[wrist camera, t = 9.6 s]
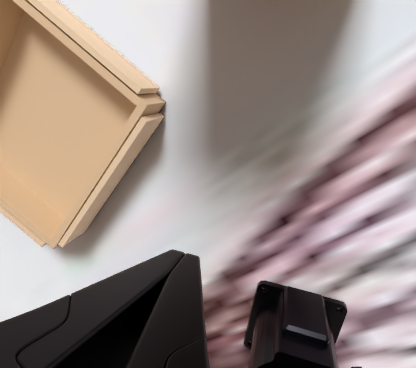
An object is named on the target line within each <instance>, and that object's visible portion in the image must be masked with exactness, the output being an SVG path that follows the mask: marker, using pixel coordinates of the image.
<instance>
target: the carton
mask: <svg viewBox="0 0 416 368" xmlns="http://www.w3.org/2000/svg"><path fill="white" fill-rule="evenodd" d="M158 90H159V87H158V86H157V85H156V84H154V83H153V82H152V81H151V80H150V79H148V78H147V77H146V76H145V75H144V74H143V73H141V72H140V71H139V70H138V69H137V68H136V67H134V66H133V65H132V64H131V63H130V62H129V61H127V60H126V59H125V58H124V57H123V56H121V55H120V54H119V53H118V52H117V51H116V50H114V49H113V48H112V47H111V46H110V45H109V44H107V43H106V42H105V41H104V40H103V39H102V38H100V37H99V36H98V35H97V34H96V33H94V32H93V31H92V30H91V29H90V28H89V27H87V26H86V25H85V24H84V23H83V22H82V21H80V20H79V19H78V18H77V17H76V16H74V15H73V14H72V13H71V12H70V11H69V10H67V9H66V8H65V7H64V6H63V5H62V4H60V3H59V2H58V1H57V0H0V212H1V213H2V214H3V215H4V216H5V217H6V218H8V219H9V220H10V221H11V222H12V223H14V224H15V225H16V226H17V227H18V228H20V229H21V230H22V231H23V232H24V233H26V234H27V235H28V236H29V237H30V238H31V239H33V240H34V241H35V242H36V243H37V244H39V245H40V246H41V247H43V246H45V245H46V244H48V245H49V246H51V247H52V248H53V249H54V248H56V247H57V246H58V245H60V246H61V247H62V248H63V247H64V246H65V245H67V244H68V243H70V242H71V241H72V240H74V239H75V238H77V237H78V236H79V235H81V234H82V233H83V232H85V231H86V229H87V228H88V226H89V225H90V223H91V222H92V221H93V219H94V218H95V216H96V215H97V213H98V212H99V210H100V209H101V207H102V206H103V205H104V203H105V202H106V200H107V199H108V197H109V196H110V194H111V193H112V192H113V190H114V189H115V187H116V186H117V184H118V183H119V181H120V180H121V179H122V177H123V176H124V174H125V173H126V171H127V170H128V168H129V167H130V166H131V164H132V163H133V161H134V160H135V158H136V157H137V155H138V154H139V153H140V151H141V150H142V148H143V147H144V145H145V144H146V142H147V141H148V140H149V138H150V137H151V135H152V134H153V132H154V131H155V129H156V128H157V126H158V125H159V124H160V122H161V121H162V119H163V118H164V116H163V115H161V114H160V113H159V112H160V110H161V109H162V107H163V106H164V104H165V103H166V102H165V101H164V100H163V99H162V98H161V97H159V96H158V95H157V94H156V93H157V92H158Z"/></svg>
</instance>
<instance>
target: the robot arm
mask: <svg viewBox="0 0 416 368" xmlns="http://www.w3.org/2000/svg"><path fill="white" fill-rule="evenodd" d="M263 286H264V287H266V289H263V288H262V287H263ZM338 307H341V308H342V309H340V310H339V309H337V308H338ZM346 314H347V307H346V304H345V303H344V302H342V301H338V300H335V299H331V298H327V297H324V296H321V295H319V294H315V293H311V292H308V291H304V290H300V289H296V288H293V287H289V286H288V287H287V286H283V285H279V284H276V283H272V282H268V281H260V282H259V283H258V286H257V290H256V294H255V298H254V302H253V307H252V311H251V315H250V319H249V323H248V328H247V332H246V336H245V341H244V344H245V346H246V347H247V348H249V349H251V354H250V361H249V368H339V365H338V360H337V354H336V349H335V343H336V340H337V338H338V335H339V332H340V330H341V327H342V324H343V322H344V319H345V317H346ZM249 341H250V342H252V343H250V342H249ZM0 368H209V360H208V352H207V340H206V330H205V318H204V306H203V294H202V282H201V270H200V258H199V257H198V256H196V255H192V254H188V253H187V254H185V253H184V252H181V251H177V250H169V251H167V252H165V253H163V254H160V255H158V256H156V257H154V258H151V259H149V260H147V261H144V262H142V263H140V264H138V265H135V266H133V267H131V268H129V269H126V270H124V271H122V272H120V273H117V274H115V275H113V276H110V277H108V278H106V279H104V280H101V281H99V282H97V283H95V284H92V285H90V286H88V287H86V288H83V289H81V290H79V291H77V292H74V293H72V294H71V296H70V295H67V296H65V297H63V298H60V299H58V300H56V301H54V302H51V303H49V304H46V305H44V306H42V307H39V308H37V309H34V310H32V311H29V312H27V313H24V314H21V315H19V316H16V317H13V318H11V319H8V320H5V321H3V322H0ZM351 368H362V367H351Z"/></svg>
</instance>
